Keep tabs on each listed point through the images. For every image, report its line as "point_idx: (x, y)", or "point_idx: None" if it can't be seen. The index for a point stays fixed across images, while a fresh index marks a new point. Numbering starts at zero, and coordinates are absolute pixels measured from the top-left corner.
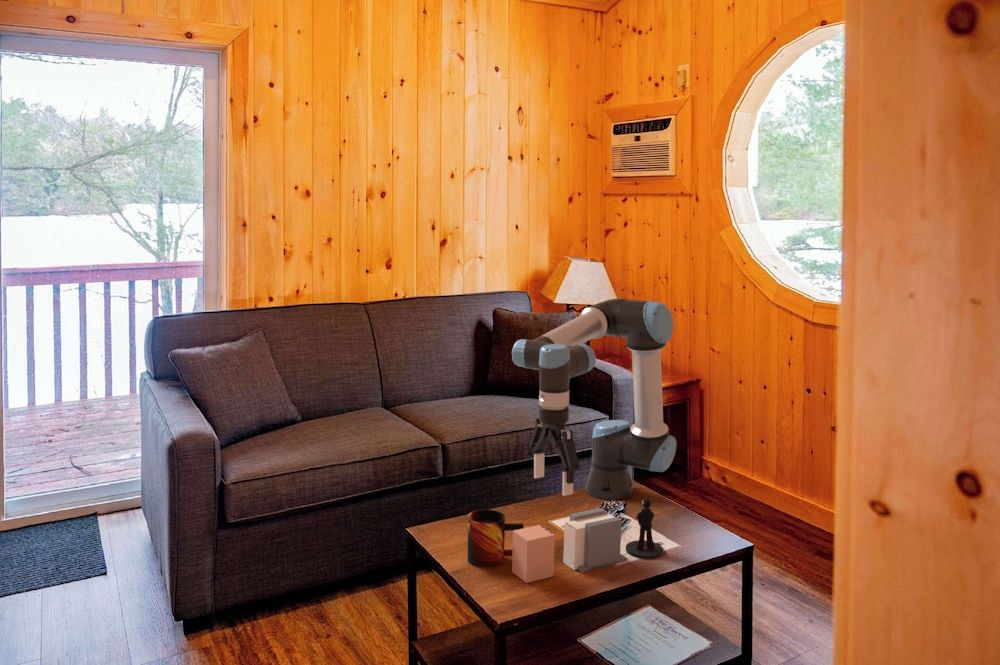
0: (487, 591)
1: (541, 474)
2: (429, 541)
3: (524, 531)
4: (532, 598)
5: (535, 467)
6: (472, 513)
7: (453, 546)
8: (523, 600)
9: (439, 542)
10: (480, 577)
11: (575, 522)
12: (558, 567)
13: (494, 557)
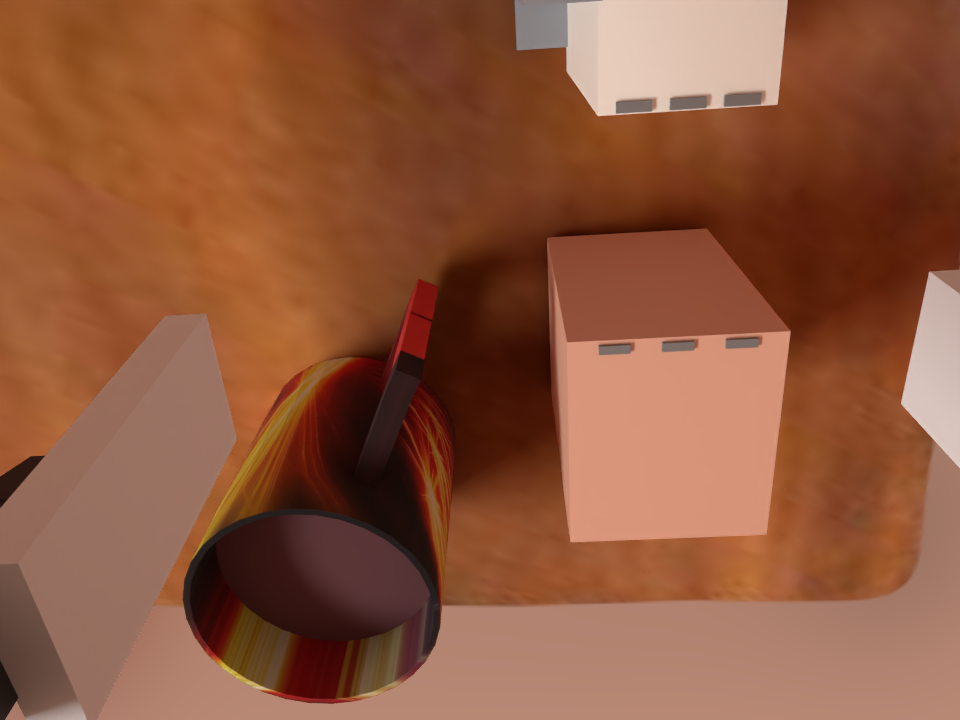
0: (663, 551)
1: (201, 374)
2: None
3: (622, 487)
4: (831, 420)
5: (181, 541)
6: (218, 649)
7: None
8: (822, 461)
9: None
10: (528, 528)
11: (644, 13)
12: (610, 135)
13: (452, 468)
